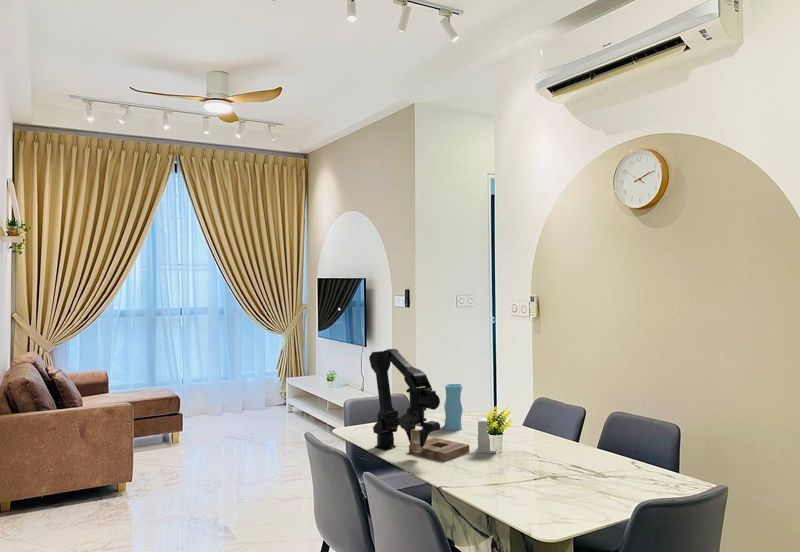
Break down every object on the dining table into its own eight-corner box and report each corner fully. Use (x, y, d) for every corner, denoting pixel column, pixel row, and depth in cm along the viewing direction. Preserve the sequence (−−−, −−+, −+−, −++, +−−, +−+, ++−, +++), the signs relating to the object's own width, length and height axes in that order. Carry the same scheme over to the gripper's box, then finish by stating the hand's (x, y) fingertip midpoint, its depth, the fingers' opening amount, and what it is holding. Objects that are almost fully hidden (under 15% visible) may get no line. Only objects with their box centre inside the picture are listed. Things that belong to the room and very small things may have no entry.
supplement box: (496, 453, 240) (496, 421, 241) (477, 452, 242) (477, 421, 242) (497, 448, 248) (497, 417, 248) (478, 447, 249) (478, 417, 249)
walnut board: (409, 452, 242) (409, 444, 242) (433, 444, 254) (433, 437, 254) (445, 461, 230) (445, 453, 230) (469, 452, 242) (469, 444, 242)
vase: (462, 430, 279) (462, 386, 279) (445, 430, 279) (445, 386, 279) (460, 426, 287) (460, 383, 287) (444, 426, 287) (444, 383, 287)
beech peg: (407, 451, 233) (408, 430, 233) (415, 448, 236) (415, 428, 236) (417, 453, 229) (417, 432, 230) (425, 451, 233) (425, 430, 233)
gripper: (384, 405, 233) (384, 445, 233) (422, 412, 221) (422, 454, 221) (403, 400, 242) (403, 440, 241) (441, 407, 229) (441, 448, 229)
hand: (416, 445), depth 233 cm, fingers closed on beech peg, 5 cm apart
